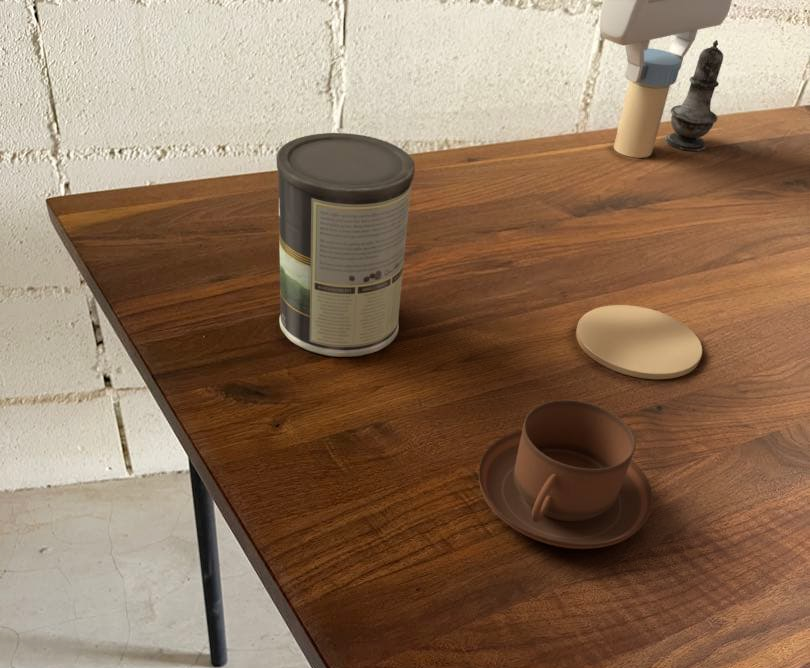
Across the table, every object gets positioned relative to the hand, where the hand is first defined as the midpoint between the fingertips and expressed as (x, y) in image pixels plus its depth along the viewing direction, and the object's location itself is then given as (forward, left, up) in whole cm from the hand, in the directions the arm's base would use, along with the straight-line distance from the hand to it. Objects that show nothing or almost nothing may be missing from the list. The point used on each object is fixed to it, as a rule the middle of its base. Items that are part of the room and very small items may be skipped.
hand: (651, 75), depth 104 cm
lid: (0, 0, +2) cm, 2 cm away
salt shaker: (-3, -8, -9) cm, 13 cm away
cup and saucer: (-28, +63, -9) cm, 69 cm away
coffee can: (-2, +57, -9) cm, 57 cm away
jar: (0, 0, -9) cm, 9 cm away
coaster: (-22, +40, -9) cm, 46 cm away
